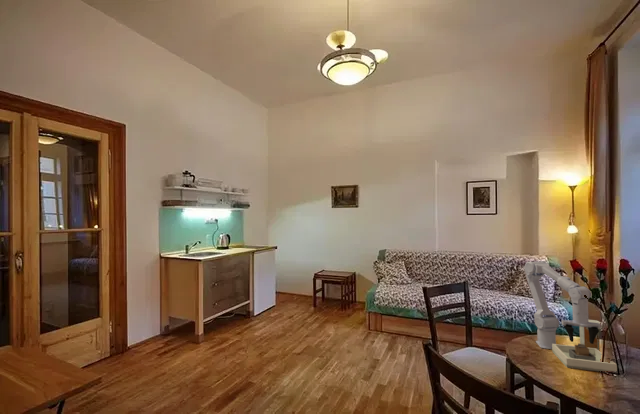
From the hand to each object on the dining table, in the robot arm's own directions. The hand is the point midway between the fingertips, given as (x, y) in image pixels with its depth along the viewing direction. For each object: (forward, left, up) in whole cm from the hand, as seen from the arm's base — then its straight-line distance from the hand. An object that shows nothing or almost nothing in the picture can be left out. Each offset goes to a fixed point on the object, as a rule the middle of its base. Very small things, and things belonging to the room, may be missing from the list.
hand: (581, 342), depth 148 cm
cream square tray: (0, 0, -9) cm, 9 cm away
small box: (-24, +13, -9) cm, 29 cm away
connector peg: (0, 0, -8) cm, 8 cm away
